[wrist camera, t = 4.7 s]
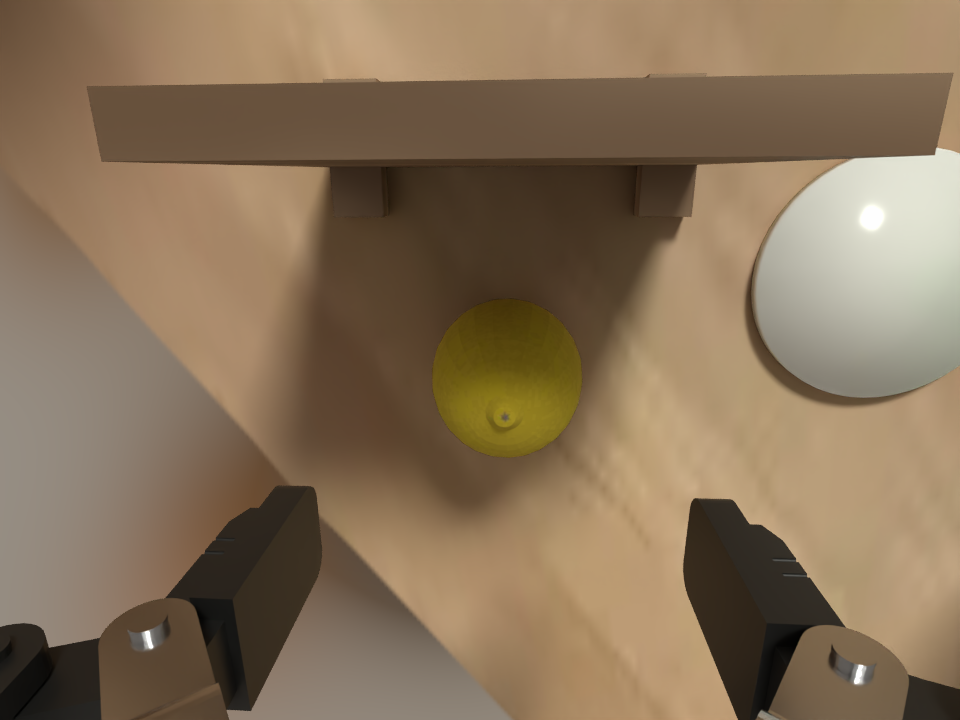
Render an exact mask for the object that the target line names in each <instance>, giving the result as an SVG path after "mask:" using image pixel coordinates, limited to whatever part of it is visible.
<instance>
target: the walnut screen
mask: <svg viewBox="0 0 960 720" xmlns="http://www.w3.org/2000/svg"><path fill="white" fill-rule="evenodd" d="M952 77H953V73H915V74H851V75H788V76H724V77H706V73H695V74H649V75H648V76H647V77H645V78H597V79H533V80H470V81H406V82H380V81H379V80H377V79H323V83H279V84H216V85H152V86H89V87H87V90H88V95H89V101H90V106H91V111H92V116H93V121H94V126H95V131H96V136H97V141H98V146H99V151H100V156H101V161H102V162H143V163H183V164H224V165H264V166H305V167H330V173H331V185H332V197H333V210H334V217H385V216H388V215H389V209H388V190H387V171H386V167H460V166H610V165H637V178H636V191H635V205H634V215H635V216H638V217H691V215H692V206H693V196H694V187H695V177H696V168H697V165H701V164H727V163H752V162H777V161H802V160H828V159H853V158H878V157H904V156H929V155H935V152H936V148H937V144H938V139H939V135H940V130H941V126H942V121H943V117H944V112H945V108H946V104H947V99H948V95H949V90H950V86H951V81H952Z"/></svg>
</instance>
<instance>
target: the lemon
mask: <svg viewBox="0 0 960 720" xmlns="http://www.w3.org/2000/svg"><path fill="white" fill-rule="evenodd" d="M432 384H433V394H434V397H435V401H436V404H437V407H438V411H439V413H440V415H441V417H442V418H443V420H444V422H445V423H446V425H447V427H448V428H449V430H450V431H451V432H452V433H453V434H454V435H455V436H456V437H457V438H458V439H459V440H460V441H461V442H462V443H464V444H466V445H467V446H469V447H471V448H472V449H474V450H476V451H478V452H481V453H484V454H487V455H490V456H495V457H506V458H510V457H517V456H524V455H527V454H530V453H533V452H535V451H538V450H540V449H542V448H543V447H545V446H546V445H548V444H549V443H550V442H552V441H553V440H555V439H556V438H557V437H558V436H559V435H560V433H561V432H562V431H563V430H564V429H565V428H566V427H567V425H568V424H569V422H570V420H571V418H572V416H573V414H574V412H575V410H576V408H577V405H578V402H579V397H580V392H581V387H582V368H581V359H580V356H579V353H578V350H577V348H576V345H575V342H574V340H573V338H572V337H571V335H570V334H569V332H568V331H567V329H566V328H565V327H564V325H563V324H562V322H560V321H559V320H558V319H557V318H556V317H555V316H553V315H552V314H551V313H550V312H549V311H548V310H546V309H544V308H541V307H539V306H537V305H535V304H533V303H531V302H527V301H522V300H517V299H495V300H492V301H488V302H485V303H482V304H479V305H477V306H475V307H473V308H472V309H470V310H468V311H467V312H465V313H463V314H462V315H461V316H460V317H459V318H458V319H457V320H456V321H455V322H454V323H453V324H452V325H451V326H450V327H449V328H448V329H447V331H446V333H445V335H444V336H443V338H442V340H441V342H440V344H439V345H438V347H437V351H436V355H435V359H434V363H433V367H432Z"/></svg>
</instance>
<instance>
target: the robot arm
mask: <svg viewBox="0 0 960 720" xmlns="http://www.w3.org/2000/svg"><path fill="white" fill-rule="evenodd" d="M319 526H320V525H319V515H318V506H317V497H316V492H315V489H314V488H313V487H311V486H277V487H275V488H274V489H273V491H272V492H271V493H270V494H269V496H268V497H267V498H266V500H265V501H264V502H263V504H262V505H261V506H260V507H259V508H250V509H248V510H246V511H245V512H243V513H242V514H240V515H239V516H237V517H236V518H234V519H232V520H231V521H229V522H228V524H227V525H226V526H225V527H224V528H223V530H222V531H221V532H220V533H219V535H218V536H217V537H216V541H213V542H212V543H211V544H210V545H209V547H208V548H207V549H206V550H205V554H202V555H201V556H200V557H199V559H198V560H197V561H196V562H195V563H194V564H193V566H192V567H191V568H190V569H189V570H188V572H187V573H186V574H185V575H184V576H183V578H182V579H181V580H180V581H179V583H178V584H177V585H176V586H175V587H174V588H173V590H172V591H171V592H170V593H169V594H168V596H167V597H166V598H164V599H158V600H153V601H149V602H146V603H143V604H141V605H138V606H136V607H134V608H132V609H130V610H128V611H126V612H125V613H123V614H122V615H120V616H119V617H118V618H116V619H115V620H114V621H113V622H112V623H110V624H109V626H108V627H107V628H106V629H105V631H104V632H103V633H102V635H101V637H100V638H97V639H93V640H88V641H83V642H77V643H72V644H67V645H61V646H56V647H51V648H49V647H48V643H47V640H46V636H45V633H44V631H43V630H42V629H41V628H40V627H38V626H37V625H33V624H25V623H22V624H12V625H6V626H2V627H0V720H229V718H228V714H227V711H226V710H244V711H251V710H252V707H253V706H254V704H255V701H256V700H257V697H258V695H259V694H260V691H261V689H262V688H263V686H264V684H265V681H266V679H267V678H268V676H269V673H270V672H271V670H272V668H273V666H274V664H275V662H276V659H277V657H278V655H279V653H280V651H281V649H282V647H283V645H284V643H285V641H286V639H287V637H288V635H289V633H290V631H291V629H292V627H293V625H294V623H295V621H296V619H297V617H298V615H299V613H300V611H301V609H302V607H303V605H304V603H305V601H306V599H307V597H308V595H309V593H310V591H311V589H312V587H313V585H314V583H315V581H316V579H317V577H318V574H319V571H320V566H321V559H322V545H321V535H320V527H319ZM683 573H684V582H685V587H686V591H687V594H688V597H689V600H690V602H691V604H692V607H693V609H694V612H695V614H696V617H697V619H698V622H699V624H700V627H701V629H702V632H703V634H704V637H705V639H706V642H707V644H708V647H709V649H710V652H711V654H712V656H713V659H714V661H715V664H716V666H717V669H718V671H719V674H720V676H721V679H722V681H723V684H724V686H725V689H726V691H727V694H728V696H729V699H730V701H731V703H732V706H733V708H734V711H735V713H736V716H737V718H738V720H960V689H956V688H953V687H949V686H945V685H942V684H938V683H934V682H931V681H927V680H923V679H920V678H917V677H914V676H911V675H908V674H907V671H906V669H905V667H904V666H903V664H902V663H901V662H900V660H899V659H898V658H897V657H896V656H895V655H894V654H893V653H892V652H891V651H890V650H888V649H887V648H886V647H885V646H883V645H882V644H880V643H879V642H877V641H876V640H874V639H872V638H870V637H868V636H866V635H864V634H862V633H860V632H857V631H854V630H852V629H848V628H846V627H845V626H844V624H843V623H842V622H841V620H840V619H839V617H838V616H837V615H836V613H835V612H834V611H833V609H832V608H831V606H830V605H829V604H828V602H827V601H826V600H825V598H824V597H823V595H822V594H821V593H820V591H819V590H818V589H817V587H816V586H815V584H814V583H813V582H812V580H811V579H810V578H807V573H806V572H805V571H804V569H803V568H802V566H801V565H800V564H799V562H796V558H795V557H794V555H793V554H792V553H791V551H790V550H789V548H788V547H787V546H786V544H785V543H784V542H783V540H781V539H780V538H778V537H777V536H776V535H774V534H773V533H772V532H770V531H769V530H767V529H766V528H765V527H763V526H762V525H751V524H749V523H748V521H747V520H746V518H745V517H744V515H743V514H742V512H741V511H740V509H739V508H738V506H737V505H736V503H735V502H734V501H733V500H731V499H700V498H695V499H693V501H692V503H691V506H690V513H689V521H688V529H687V537H686V546H685V554H684V563H683Z"/></svg>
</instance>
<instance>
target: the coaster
mask: <svg viewBox="0 0 960 720" xmlns="http://www.w3.org/2000/svg"><path fill="white" fill-rule="evenodd" d="M751 300H752V310H753V315H754V320H755V324H756V326H757V329H758V332H759V334H760V337H761V338H762V340H763V342H764V344H765V346H766V347H767V349H768V350H769V351H770V353H771V354H772V355H773V357H774V358H775V359H776V360H777V361H778V362H779V363H780V364H781V365H782V366H783V367H784V368H785V369H786V370H788V371H789V372H791V373H792V374H793V375H795V376H796V377H798V378H799V379H800V380H802V381H803V382H805V383H807V384H809V385H811V386H813V387H815V388H817V389H820V390H823V391H826V392H828V393H831V394H836V395H841V396H846V397H859V398H869V397H882V396H889V395H895V394H899V393H903V392H906V391H910V390H913V389H916V388H918V387H921V386H924V385H926V384H928V383H930V382H932V381H934V380H936V379H938V378H940V377H942V376H944V375H946V374H947V373H949V372H950V371H952V370H953V369H955V368H957V367H958V366H959V365H960V154H959V153H956V152H954V151H950V150H945V149H940V148H936V152H935V155H929V156H904V157H878V158H853V159H848V160H846V161H844V162H842V163H840V164H838V165H835V166H834V167H832V168H830V169H829V170H827V171H825V172H824V173H822V174H821V175H819V176H817V177H816V178H815V179H814V180H812V181H811V182H810V183H808V184H807V185H806V186H805V187H803V188H802V189H801V190H800V191H799V192H798V193H797V194H796V195H795V196H794V197H793V198H792V199H791V200H790V201H789V202H788V204H787V205H786V206H785V207H784V208H783V210H782V211H781V212H780V213H779V215H778V216H777V218H776V219H775V221H774V222H773V224H772V225H771V227H770V229H769V230H768V232H767V234H766V236H765V238H764V240H763V242H762V244H761V247H760V250H759V253H758V256H757V259H756V261H755V266H754V271H753V276H752V287H751Z"/></svg>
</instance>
